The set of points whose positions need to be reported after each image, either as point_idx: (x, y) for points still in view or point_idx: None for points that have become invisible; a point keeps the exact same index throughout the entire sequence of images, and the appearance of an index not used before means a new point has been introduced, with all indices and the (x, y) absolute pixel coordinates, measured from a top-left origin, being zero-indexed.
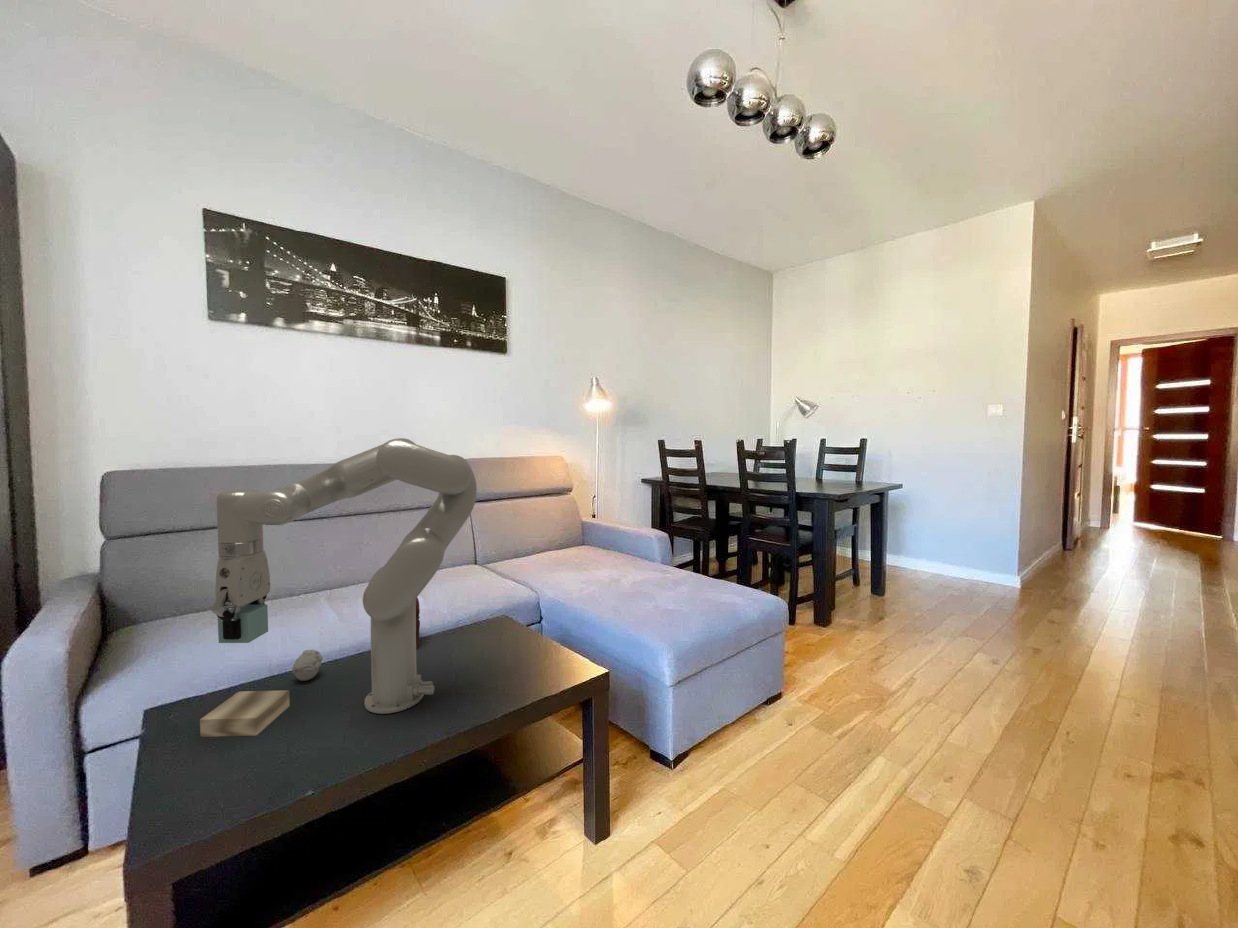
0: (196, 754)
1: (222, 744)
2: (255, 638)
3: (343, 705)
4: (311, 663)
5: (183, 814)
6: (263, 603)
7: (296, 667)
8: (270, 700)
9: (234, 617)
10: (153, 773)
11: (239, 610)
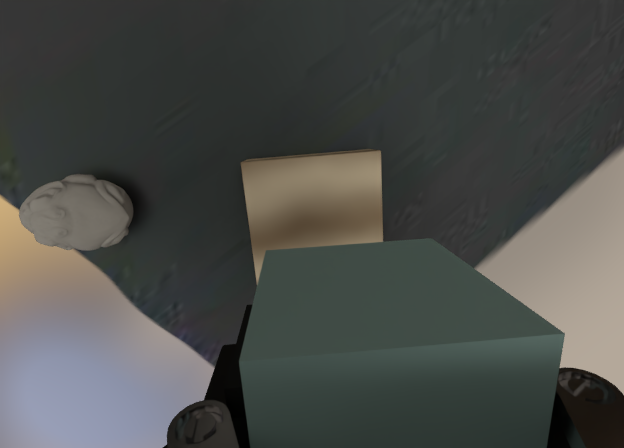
0: (432, 222)
1: (401, 198)
2: (375, 243)
3: (232, 3)
4: (94, 188)
5: (603, 101)
6: (185, 432)
7: (124, 222)
8: (296, 176)
9: (603, 397)
10: (482, 252)
11: (588, 441)
